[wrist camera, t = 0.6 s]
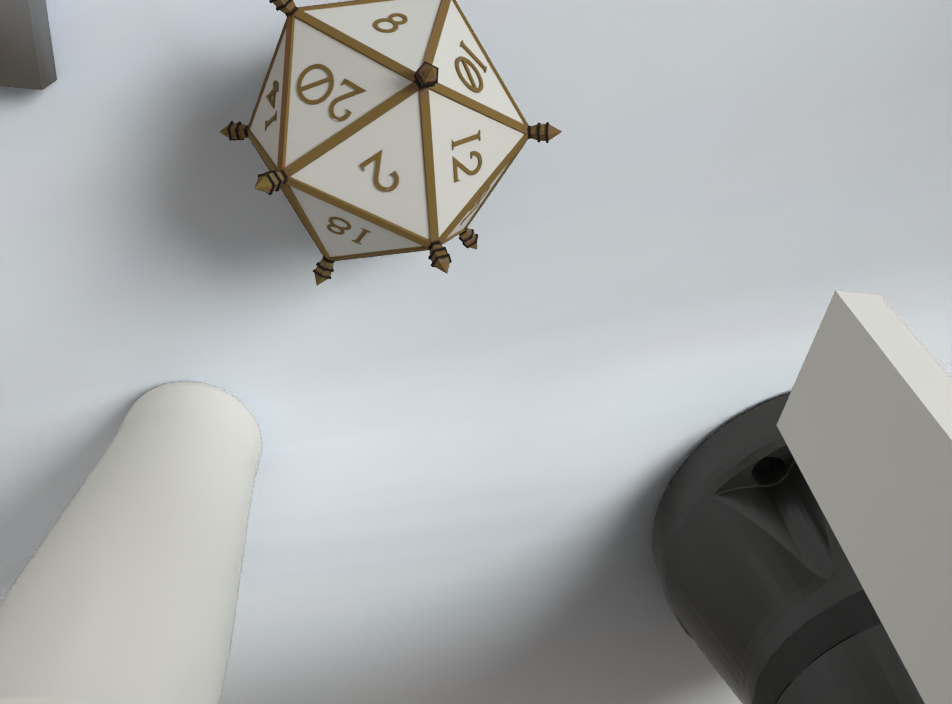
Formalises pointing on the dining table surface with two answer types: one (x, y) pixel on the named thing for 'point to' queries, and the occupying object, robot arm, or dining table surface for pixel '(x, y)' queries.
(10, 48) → the plinth
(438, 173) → the game die
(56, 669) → the drinking glass
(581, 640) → the dining table surface
